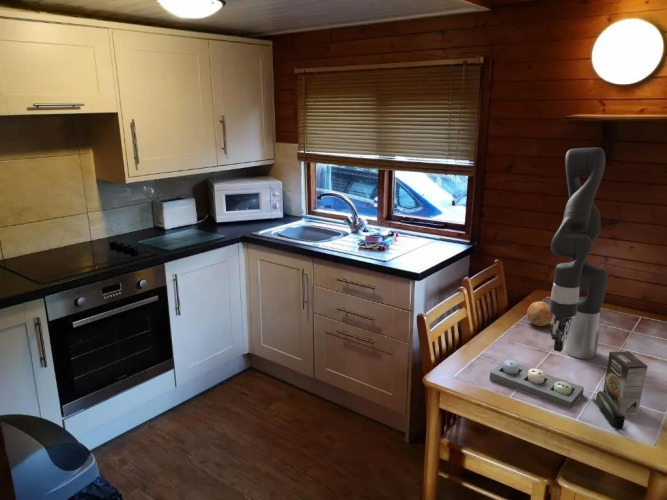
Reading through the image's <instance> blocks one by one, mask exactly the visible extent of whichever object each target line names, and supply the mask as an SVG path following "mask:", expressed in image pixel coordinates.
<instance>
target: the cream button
mask: <svg viewBox="0 0 667 500" xmlns="http://www.w3.org/2000/svg"><path fill="white" fill-rule="evenodd" d="M545 374H546V373H545V371H544V370H542V369H539V368H530V370H528V378H527V380H528V382H530V383H533V384H536V385H539V386H542V385H543V383H544V378H545Z"/></svg>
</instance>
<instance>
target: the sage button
mask: <svg viewBox="0 0 667 500" xmlns="http://www.w3.org/2000/svg"><path fill="white" fill-rule="evenodd" d="M554 391H555V392H558V393H560V394H563V395H566V396H570V395H571V391H572V386H571V385H570V384H568V383H566V382H562V381H558V382H555V384H554Z"/></svg>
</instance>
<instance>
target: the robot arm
mask: <svg viewBox="0 0 667 500" xmlns="http://www.w3.org/2000/svg"><path fill="white" fill-rule="evenodd" d="M564 163H565V175H566V182H567V189H568V201H567V202H566V205H565V208H564V213H563V219H562V222H561V224H560V226H559V228H558V229H557V231H556V232H555V233H554V235H553V237H552V239H551V243H550V250H551V252H552V253H553V255H555V256H557V257H563V258H570V262H562V263H558V264H556V265H555V268H554V277H553V284H552V287H551V293H550V303H549V306H550V312H551V313H552V314H553V316H554V317H553V318H552V324H553V327H550V328H549V333H550V336H551V340H553V341H554V344H553V350H554V351H555V352H558V353H561V352H562V351H563V349H564V342H565V339H566V345H565V352H566V353H567V354H568V355H569V356H571V357H574V358H577V359H583V360H584V359H587V360H588V359H591V358H593V357H597V352H598V346H599V340H600V333H601V332H600V331H599V330H598V328H599V322H600V315H601V308H602V306H603V303H604V300H605V295H606V290H607V285H608V281H609V280H608V279H609V274H608V271H607V270H606V269H604V268H603V267H599V266H596V265H591V264H589V262H588V257H589V254H590V253H591V250H592V248H593V244H594V243H595V242H596V241H597V239H598V237H599V236H600V233H601V230H602V229H601V224H602V223H601V212H600V210H599V208H598V207H597V205H596V204H595V202H594V200H595V197H596V194H597V193H598V189H599V186H600V184H601V181H602V178H603V175H604V172H605V167H606V153H605V150H604V149H603V147H602V148H601V147H595V146H594V147H580V148H579V147H578V148H570V149H569V150H567V152H566V154H565V162H564ZM580 178H587V180H586V181H585V182H584V183H583V184H581V180H580ZM580 290H581V291H584V292H587V293H586V296H580ZM566 336H567V337H566Z"/></svg>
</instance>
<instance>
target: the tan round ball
mask: <svg viewBox="0 0 667 500" xmlns="http://www.w3.org/2000/svg"><path fill="white" fill-rule="evenodd" d="M526 316H527V319H528V322H530V323H531V324H533V325H535V326H537V327H545V326H547V325H549V324H550V323H551V321H553V318H554V317H553V316H554V314H552V313H551V312H550V304H547V303H546V302H544V301H534V302H532V303H531V304H530V305H529V306H528V309H527V310H526Z"/></svg>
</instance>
